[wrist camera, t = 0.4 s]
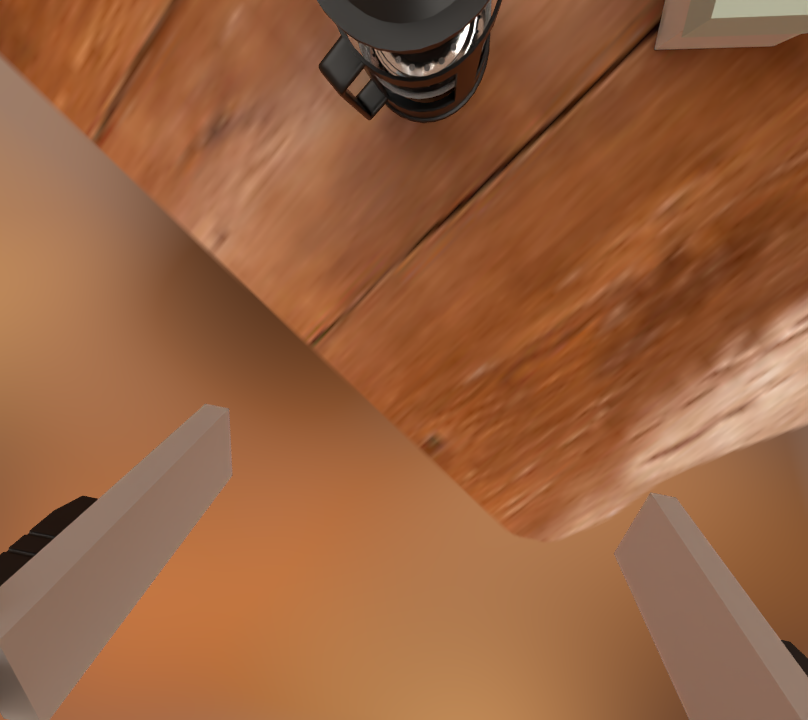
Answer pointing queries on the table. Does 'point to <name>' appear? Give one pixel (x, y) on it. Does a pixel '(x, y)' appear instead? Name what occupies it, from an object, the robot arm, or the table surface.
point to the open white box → (673, 30)
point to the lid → (745, 17)
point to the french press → (409, 53)
